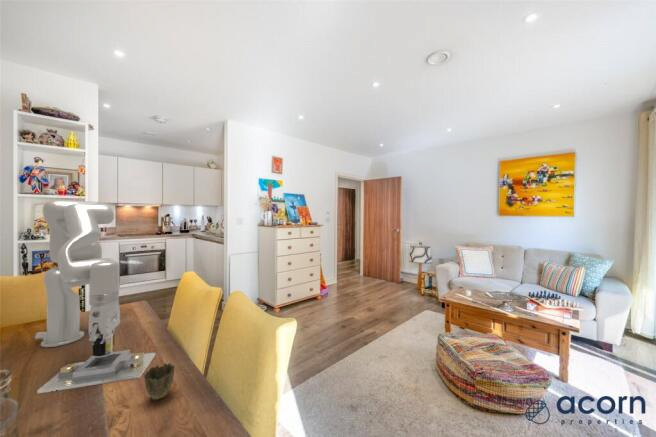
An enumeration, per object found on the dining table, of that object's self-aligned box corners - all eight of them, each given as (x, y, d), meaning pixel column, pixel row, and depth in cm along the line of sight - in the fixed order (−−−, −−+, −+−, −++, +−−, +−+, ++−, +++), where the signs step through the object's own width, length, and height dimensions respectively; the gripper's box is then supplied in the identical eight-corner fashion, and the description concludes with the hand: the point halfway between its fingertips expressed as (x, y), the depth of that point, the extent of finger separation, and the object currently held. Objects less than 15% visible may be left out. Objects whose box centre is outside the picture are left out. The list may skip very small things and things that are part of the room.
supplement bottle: (102, 350, 87) (102, 326, 87) (116, 350, 87) (117, 326, 87) (90, 358, 82) (90, 333, 82) (105, 357, 82) (106, 332, 82)
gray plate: (37, 393, 74) (37, 379, 74) (69, 366, 87) (69, 354, 87) (140, 377, 82) (140, 364, 82) (155, 355, 95) (155, 344, 95)
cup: (141, 410, 68) (141, 381, 68) (146, 393, 75) (146, 366, 75) (173, 401, 72) (173, 373, 72) (175, 385, 78) (175, 360, 78)
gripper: (104, 305, 78) (103, 362, 78) (129, 289, 94) (128, 337, 94) (73, 307, 75) (73, 367, 75) (104, 291, 91) (104, 340, 92)
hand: (103, 350), depth 85 cm, fingers closed on supplement bottle, 4 cm apart
